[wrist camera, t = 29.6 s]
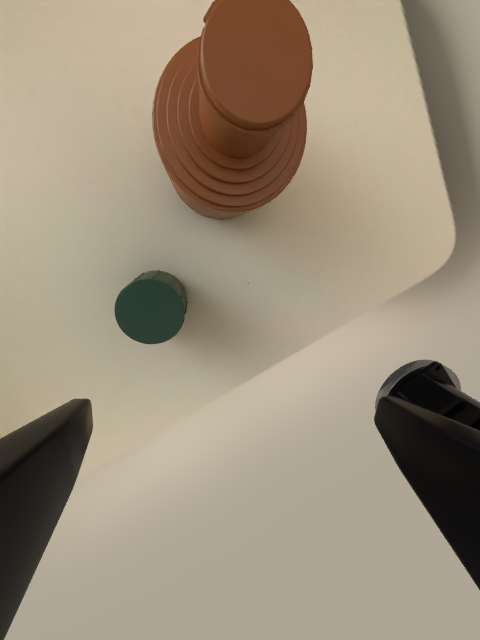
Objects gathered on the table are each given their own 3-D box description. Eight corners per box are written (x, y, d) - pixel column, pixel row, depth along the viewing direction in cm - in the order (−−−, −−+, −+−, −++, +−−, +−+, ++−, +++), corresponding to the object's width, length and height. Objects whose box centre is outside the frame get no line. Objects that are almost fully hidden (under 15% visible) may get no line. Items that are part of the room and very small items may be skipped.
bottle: (286, 157, 19) (428, 42, 7) (229, 238, 20) (277, 247, 8) (206, 81, 17) (230, -232, 5) (148, 175, 18) (65, 76, 6)
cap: (159, 258, 19) (152, 264, 16) (198, 302, 21) (198, 316, 17) (116, 295, 20) (99, 308, 16) (156, 335, 21) (148, 356, 17)
